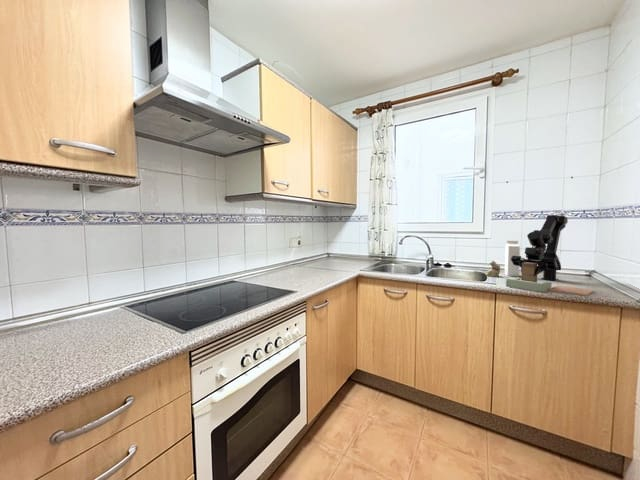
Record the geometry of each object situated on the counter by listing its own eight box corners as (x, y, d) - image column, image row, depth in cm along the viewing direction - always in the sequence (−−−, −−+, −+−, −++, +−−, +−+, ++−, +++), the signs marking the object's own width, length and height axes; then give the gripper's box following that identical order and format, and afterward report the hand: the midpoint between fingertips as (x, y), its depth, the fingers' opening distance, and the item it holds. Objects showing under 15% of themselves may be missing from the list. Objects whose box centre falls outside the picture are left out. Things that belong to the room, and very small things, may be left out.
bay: (516, 282, 147) (517, 275, 146) (551, 287, 134) (551, 280, 134) (506, 286, 139) (506, 278, 139) (541, 292, 127) (541, 283, 127)
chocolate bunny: (501, 277, 162) (501, 261, 161) (486, 276, 165) (486, 260, 165) (499, 275, 167) (500, 260, 166) (485, 274, 170) (485, 259, 170)
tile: (558, 286, 137) (558, 285, 137) (593, 291, 126) (593, 290, 126) (549, 290, 130) (549, 288, 130) (586, 296, 119) (586, 294, 119)
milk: (504, 274, 171) (505, 240, 170) (515, 274, 169) (516, 240, 168) (507, 276, 165) (508, 241, 164) (519, 276, 163) (520, 241, 162)
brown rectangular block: (525, 285, 141) (525, 262, 140) (536, 287, 136) (537, 263, 136) (521, 286, 138) (522, 262, 137) (532, 288, 134) (533, 264, 133)
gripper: (512, 241, 146) (503, 262, 140) (556, 242, 130) (547, 267, 125) (518, 254, 150) (509, 275, 145) (561, 257, 135) (552, 281, 130)
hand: (528, 274), depth 136 cm, fingers closed on brown rectangular block, 5 cm apart
